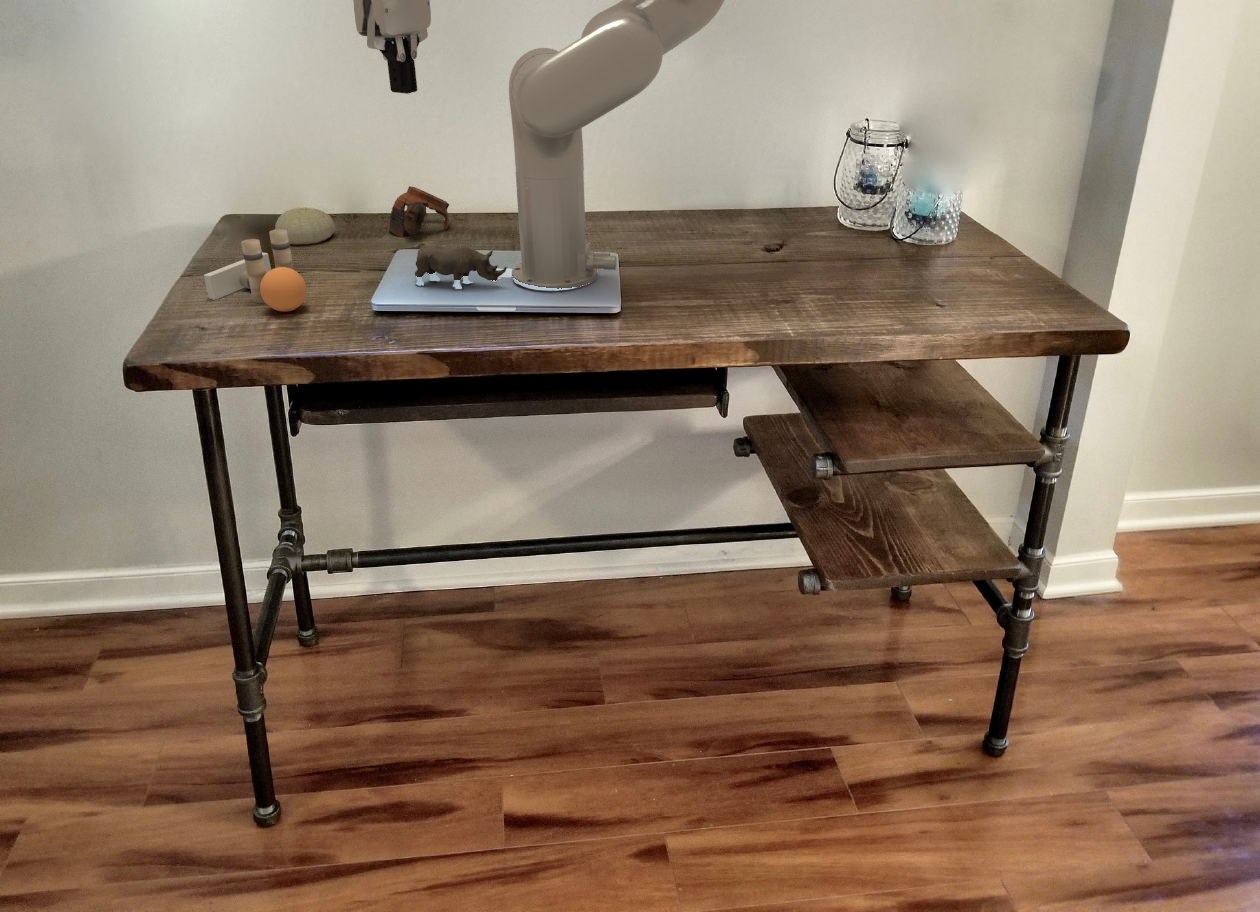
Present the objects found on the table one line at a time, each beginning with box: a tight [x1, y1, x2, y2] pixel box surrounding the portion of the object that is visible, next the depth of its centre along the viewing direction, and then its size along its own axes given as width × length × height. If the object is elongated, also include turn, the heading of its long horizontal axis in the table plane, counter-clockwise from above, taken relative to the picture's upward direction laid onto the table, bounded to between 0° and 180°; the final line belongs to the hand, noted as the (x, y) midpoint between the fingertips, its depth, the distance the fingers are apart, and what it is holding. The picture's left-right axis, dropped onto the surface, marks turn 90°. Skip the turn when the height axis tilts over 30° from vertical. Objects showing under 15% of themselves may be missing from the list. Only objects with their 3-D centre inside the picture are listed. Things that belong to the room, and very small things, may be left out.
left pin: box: [240, 238, 266, 304], centre depth 144 cm, size 2×2×8 cm
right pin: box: [268, 228, 295, 270], centre depth 148 cm, size 2×2×8 cm
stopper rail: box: [203, 251, 272, 301], centre depth 150 cm, size 1×11×4 cm, turn 151°
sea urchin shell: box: [274, 207, 336, 246], centre depth 170 cm, size 9×8×8 cm
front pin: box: [240, 271, 251, 290], centre depth 148 cm, size 2×2×8 cm
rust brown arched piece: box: [388, 185, 450, 238], centre depth 172 cm, size 12×10×8 cm
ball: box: [260, 267, 308, 313], centre depth 141 cm, size 6×6×6 cm
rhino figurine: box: [414, 244, 508, 282], centre depth 149 cm, size 4×14×6 cm, turn 79°
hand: (404, 91), depth 137 cm, fingers closed
